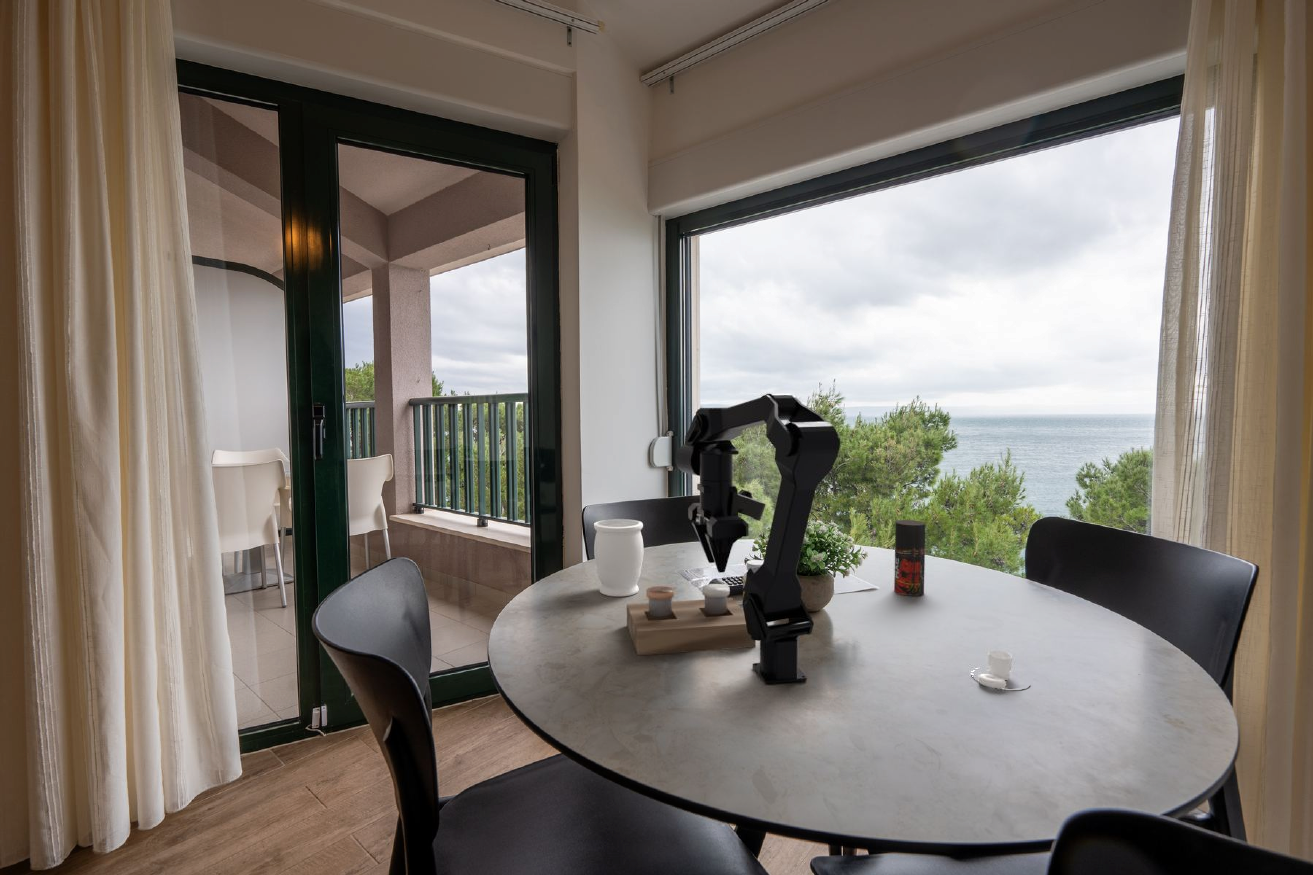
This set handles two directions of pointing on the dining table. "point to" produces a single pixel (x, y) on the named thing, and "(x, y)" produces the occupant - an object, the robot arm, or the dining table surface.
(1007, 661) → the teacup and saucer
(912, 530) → the deodorant
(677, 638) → the wooden socket block
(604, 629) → the dining table surface
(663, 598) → the plug
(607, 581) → the jar
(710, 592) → the plug
